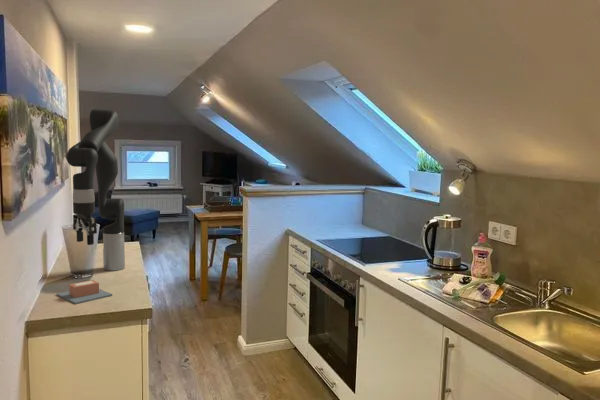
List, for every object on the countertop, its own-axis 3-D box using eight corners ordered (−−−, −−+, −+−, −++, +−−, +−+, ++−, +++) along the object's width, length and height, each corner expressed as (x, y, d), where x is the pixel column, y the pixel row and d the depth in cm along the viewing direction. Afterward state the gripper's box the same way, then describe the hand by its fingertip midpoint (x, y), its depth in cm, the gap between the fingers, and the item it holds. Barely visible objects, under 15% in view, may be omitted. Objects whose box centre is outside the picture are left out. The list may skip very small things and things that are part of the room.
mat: (56, 295, 179) (56, 293, 179) (92, 287, 190) (92, 285, 190) (75, 304, 169) (75, 302, 169) (112, 295, 180) (112, 294, 180)
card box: (93, 289, 185) (93, 279, 184) (99, 293, 181) (98, 282, 180) (69, 294, 178) (69, 284, 178) (74, 297, 174) (74, 287, 174)
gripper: (102, 201, 175) (103, 244, 177) (84, 198, 184) (86, 239, 186) (82, 203, 170) (84, 247, 171) (65, 200, 179) (66, 241, 181)
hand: (85, 243), depth 179 cm, fingers open, 8 cm apart
